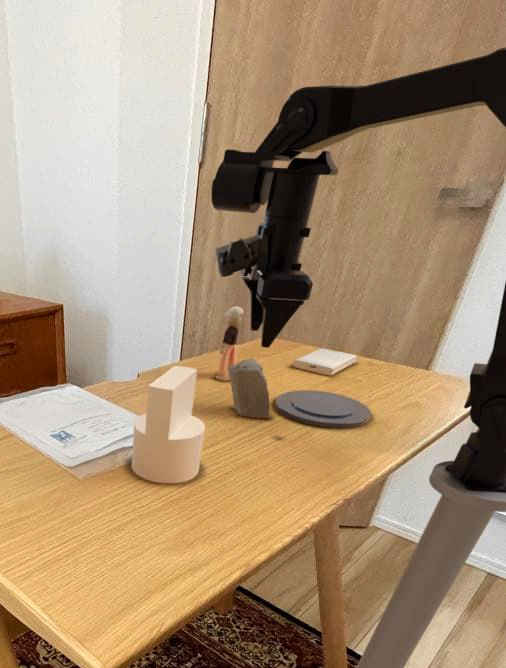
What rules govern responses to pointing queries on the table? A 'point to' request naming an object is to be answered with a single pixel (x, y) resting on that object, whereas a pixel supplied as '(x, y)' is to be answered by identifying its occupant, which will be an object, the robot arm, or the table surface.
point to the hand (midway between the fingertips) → (259, 338)
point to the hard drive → (325, 361)
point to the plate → (322, 409)
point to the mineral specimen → (249, 389)
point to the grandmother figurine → (230, 342)
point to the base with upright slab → (169, 430)
